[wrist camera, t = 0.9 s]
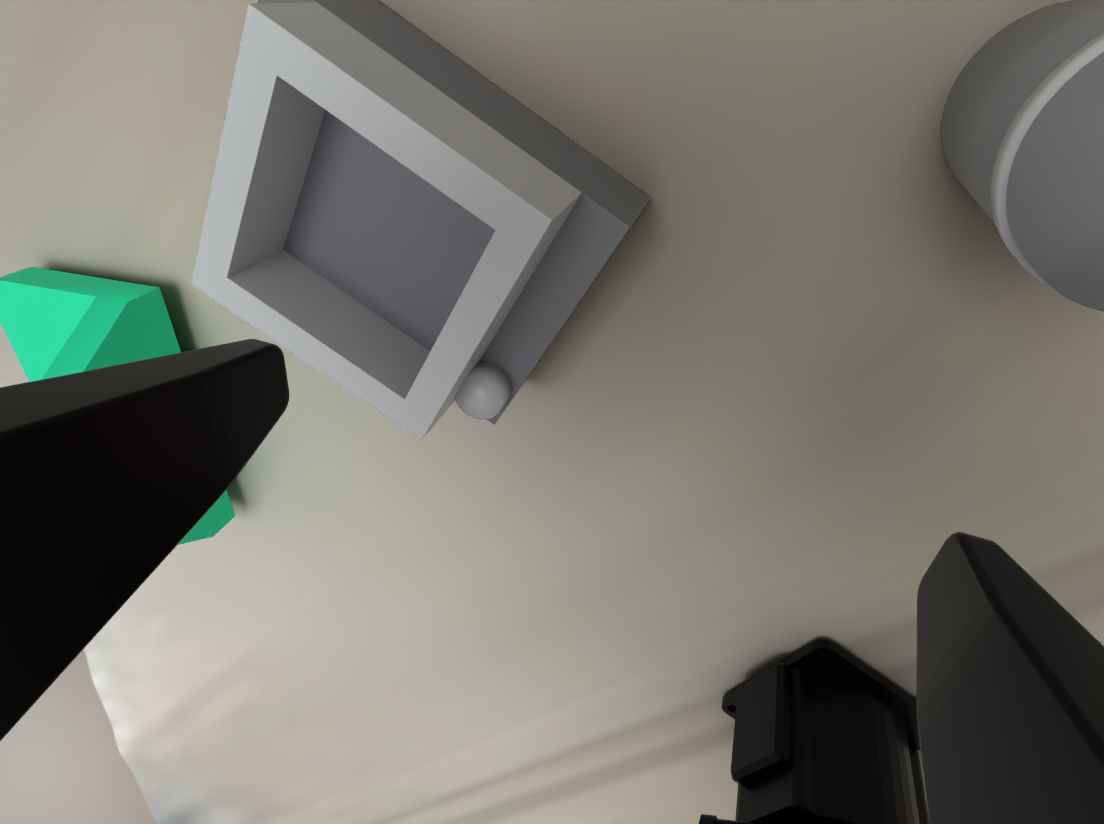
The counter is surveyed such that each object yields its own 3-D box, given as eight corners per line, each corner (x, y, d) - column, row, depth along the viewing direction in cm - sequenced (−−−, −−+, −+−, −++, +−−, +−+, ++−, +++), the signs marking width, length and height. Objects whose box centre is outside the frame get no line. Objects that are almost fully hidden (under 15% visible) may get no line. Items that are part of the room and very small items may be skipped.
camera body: (650, 197, 19) (606, 259, 15) (525, 381, 24) (463, 469, 19) (335, -31, 18) (189, -39, 14) (270, 204, 23) (146, 254, 19)
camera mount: (38, 255, 29) (-271, 362, 20) (180, 277, 27) (-97, 404, 18) (130, 472, 35) (-75, 619, 27) (250, 502, 33) (68, 670, 25)
